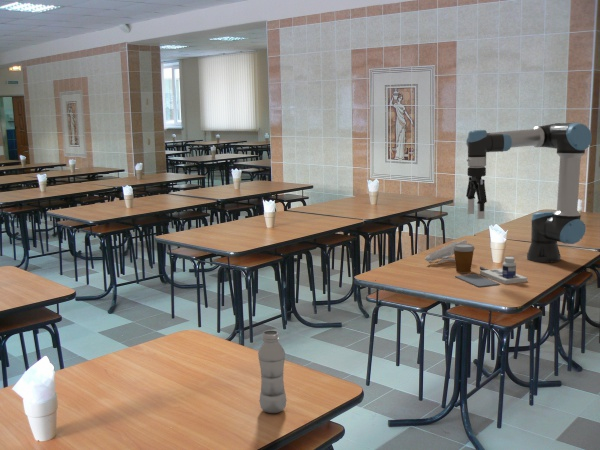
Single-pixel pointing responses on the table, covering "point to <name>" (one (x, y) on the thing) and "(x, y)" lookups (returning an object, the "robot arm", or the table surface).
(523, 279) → the socket strip
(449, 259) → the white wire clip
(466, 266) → the disposable coffee cup
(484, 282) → the rubber mat
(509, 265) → the pill bottle
